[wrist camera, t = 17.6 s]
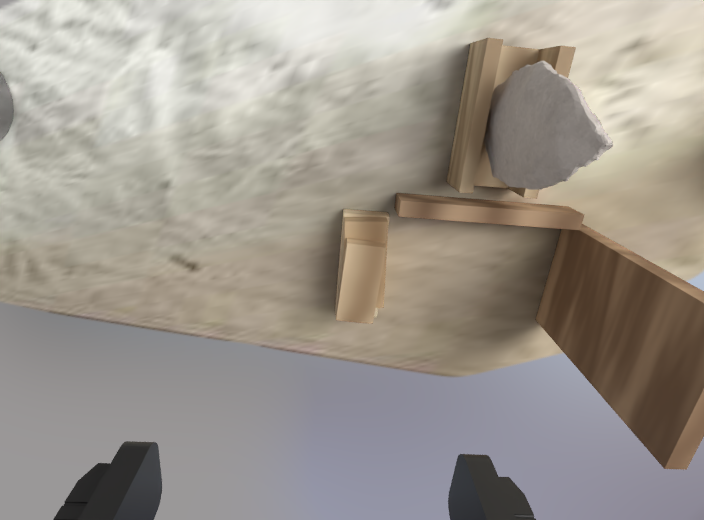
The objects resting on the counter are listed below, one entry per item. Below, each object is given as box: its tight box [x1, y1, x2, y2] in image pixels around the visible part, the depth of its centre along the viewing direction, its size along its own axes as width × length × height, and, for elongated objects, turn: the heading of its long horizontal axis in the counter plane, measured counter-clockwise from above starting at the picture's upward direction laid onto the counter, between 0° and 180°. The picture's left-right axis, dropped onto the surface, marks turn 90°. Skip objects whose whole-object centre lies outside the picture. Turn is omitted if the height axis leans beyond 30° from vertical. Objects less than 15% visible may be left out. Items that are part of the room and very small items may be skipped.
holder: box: [446, 38, 576, 199], centre depth 37 cm, size 7×12×4 cm, turn 175°
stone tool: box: [484, 61, 613, 190], centre depth 32 cm, size 9×3×15 cm, turn 4°
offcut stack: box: [335, 209, 390, 324], centre depth 42 cm, size 5×11×4 cm, turn 175°
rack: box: [394, 193, 704, 469], centre depth 35 cm, size 19×13×20 cm
